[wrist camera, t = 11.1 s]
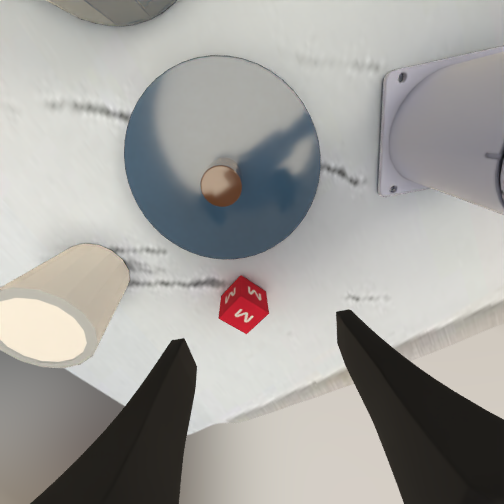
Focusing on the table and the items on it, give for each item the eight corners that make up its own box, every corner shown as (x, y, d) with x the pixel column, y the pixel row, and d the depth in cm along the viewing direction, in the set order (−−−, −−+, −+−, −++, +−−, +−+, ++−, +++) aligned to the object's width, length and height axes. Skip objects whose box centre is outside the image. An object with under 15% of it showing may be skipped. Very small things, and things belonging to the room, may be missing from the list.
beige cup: (34, 257, 21) (-53, 315, 15) (100, 222, 20) (35, 270, 13) (92, 313, 24) (41, 381, 18) (153, 286, 23) (119, 349, 16)
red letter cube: (220, 296, 23) (218, 318, 21) (240, 274, 22) (240, 295, 20) (246, 310, 24) (246, 334, 22) (266, 291, 23) (269, 313, 21)
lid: (308, 35, 15) (332, 7, 11) (321, 237, 21) (339, 263, 17) (94, 85, 15) (47, 74, 12) (168, 265, 22) (153, 296, 18)
